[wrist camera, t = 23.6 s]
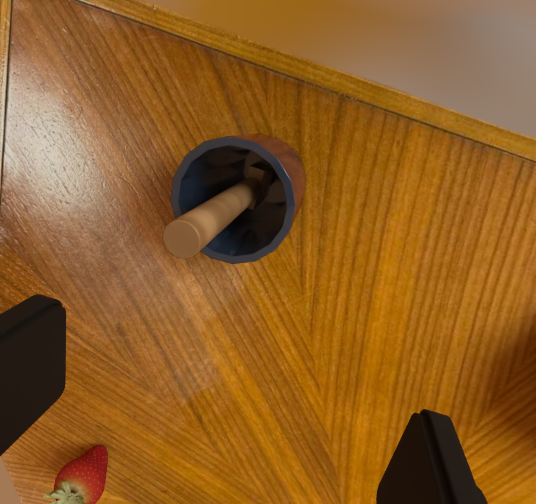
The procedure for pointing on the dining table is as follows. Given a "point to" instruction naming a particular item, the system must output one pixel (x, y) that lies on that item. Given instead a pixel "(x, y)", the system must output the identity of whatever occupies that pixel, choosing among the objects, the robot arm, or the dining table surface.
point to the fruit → (81, 479)
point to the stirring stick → (215, 214)
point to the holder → (229, 174)
